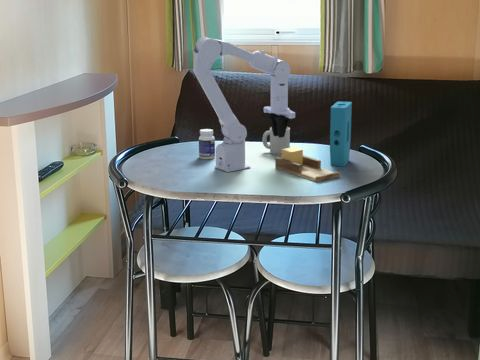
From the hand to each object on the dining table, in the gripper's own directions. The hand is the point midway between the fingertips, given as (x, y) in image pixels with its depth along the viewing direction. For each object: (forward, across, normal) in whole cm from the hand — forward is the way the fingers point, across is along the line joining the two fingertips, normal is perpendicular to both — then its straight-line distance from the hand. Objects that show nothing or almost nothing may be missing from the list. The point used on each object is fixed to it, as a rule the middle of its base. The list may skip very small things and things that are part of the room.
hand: (278, 136), depth 228 cm
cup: (+10, +13, -9) cm, 18 cm away
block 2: (+10, -12, -17) cm, 23 cm away
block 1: (+8, -7, 0) cm, 11 cm away
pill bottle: (+10, +22, +15) cm, 28 cm away
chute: (+9, -14, 0) cm, 17 cm away
